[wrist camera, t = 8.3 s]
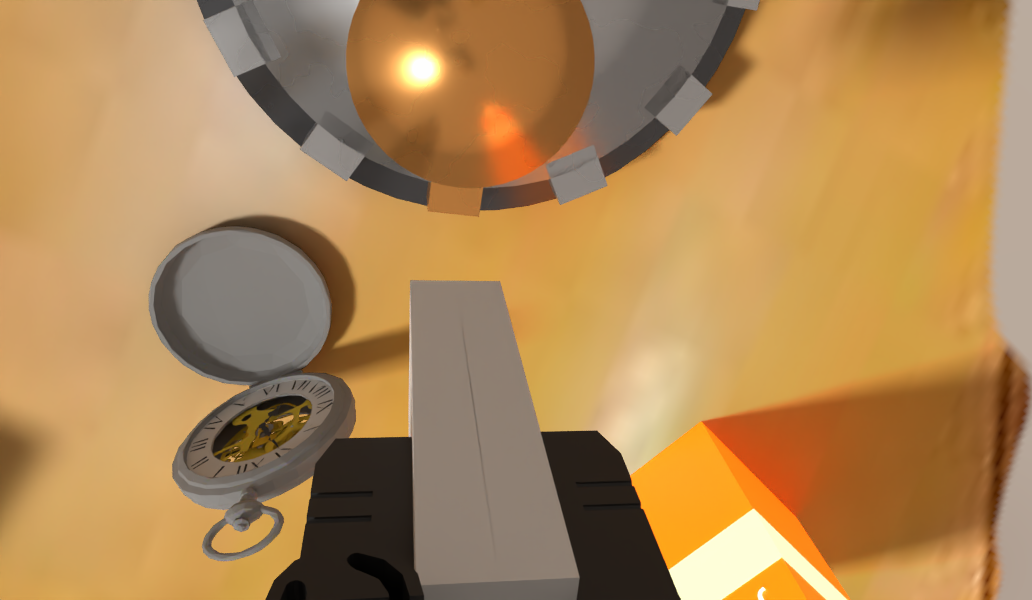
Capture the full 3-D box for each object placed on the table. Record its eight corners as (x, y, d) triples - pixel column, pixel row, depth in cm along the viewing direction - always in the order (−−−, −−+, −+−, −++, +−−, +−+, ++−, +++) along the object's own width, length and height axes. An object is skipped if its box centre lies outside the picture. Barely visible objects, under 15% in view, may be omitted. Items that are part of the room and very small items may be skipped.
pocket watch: (217, 185, 28) (131, 311, 19) (403, 310, 31) (403, 467, 22) (101, 343, 30) (-24, 521, 21) (287, 444, 33) (245, 636, 24)
